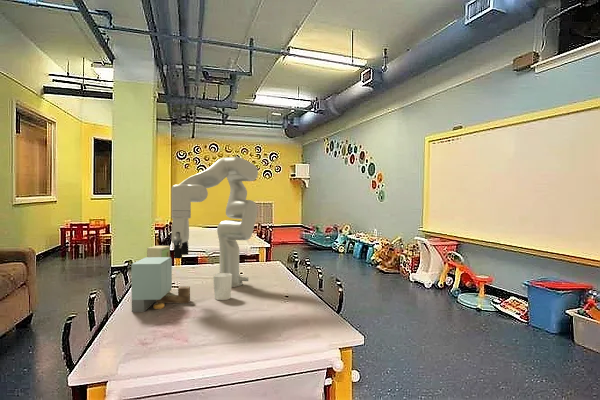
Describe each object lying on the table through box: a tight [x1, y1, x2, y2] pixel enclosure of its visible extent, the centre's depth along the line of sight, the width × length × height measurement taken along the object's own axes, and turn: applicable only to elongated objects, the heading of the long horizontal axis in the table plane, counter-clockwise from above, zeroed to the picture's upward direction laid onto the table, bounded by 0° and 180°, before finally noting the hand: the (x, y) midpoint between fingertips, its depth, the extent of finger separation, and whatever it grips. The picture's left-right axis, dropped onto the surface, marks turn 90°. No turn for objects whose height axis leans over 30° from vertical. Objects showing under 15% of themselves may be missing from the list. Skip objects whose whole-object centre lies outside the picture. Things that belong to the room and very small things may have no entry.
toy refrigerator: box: [146, 245, 171, 293], centre depth 177 cm, size 8×7×21 cm
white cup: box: [212, 272, 232, 301], centre depth 170 cm, size 8×8×10 cm
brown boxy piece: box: [155, 285, 191, 304], centre depth 163 cm, size 13×4×6 cm, turn 93°
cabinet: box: [130, 256, 173, 313], centre depth 158 cm, size 11×16×18 cm
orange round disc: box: [153, 302, 165, 310], centre depth 156 cm, size 4×4×2 cm
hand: (181, 256), depth 163 cm, fingers open, 9 cm apart
